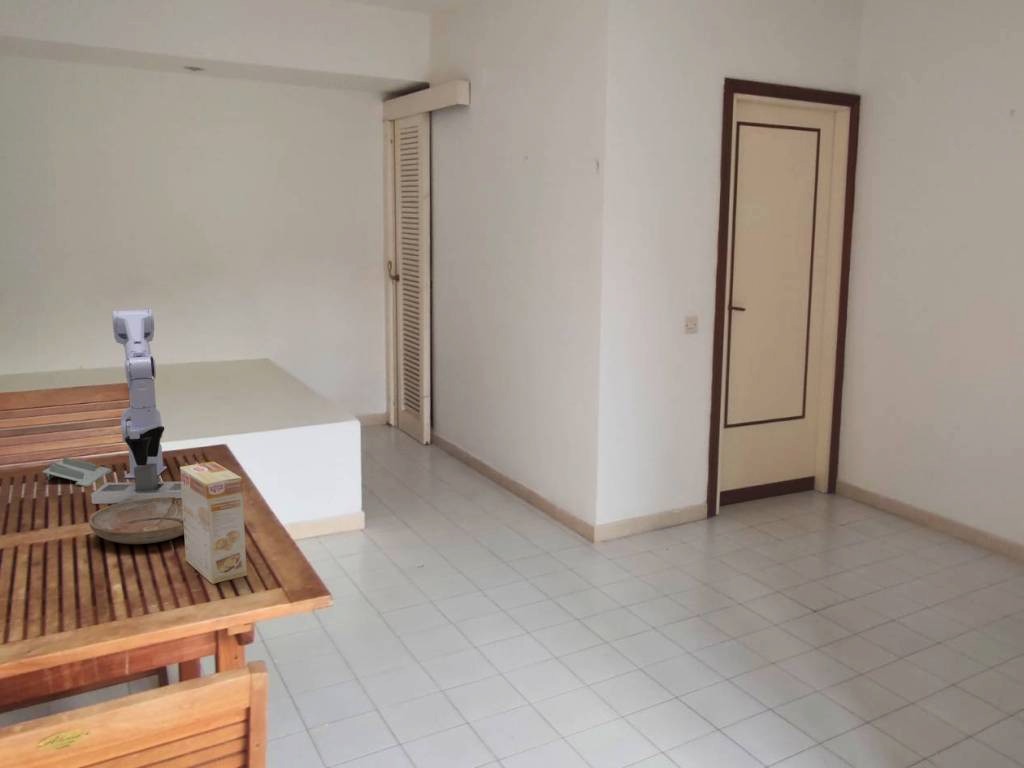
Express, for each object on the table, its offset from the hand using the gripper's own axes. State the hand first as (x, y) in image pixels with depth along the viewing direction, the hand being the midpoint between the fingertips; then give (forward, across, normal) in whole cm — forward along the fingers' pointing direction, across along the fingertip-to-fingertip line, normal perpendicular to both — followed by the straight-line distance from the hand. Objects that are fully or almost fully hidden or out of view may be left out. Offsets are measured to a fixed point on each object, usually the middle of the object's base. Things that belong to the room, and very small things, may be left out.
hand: (147, 460), depth 205 cm
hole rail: (+9, 0, 0) cm, 9 cm away
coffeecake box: (+9, +46, +28) cm, 55 cm away
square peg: (+9, 0, 0) cm, 9 cm away
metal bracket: (+10, -18, -25) cm, 32 cm away
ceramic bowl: (+10, +26, +9) cm, 29 cm away
